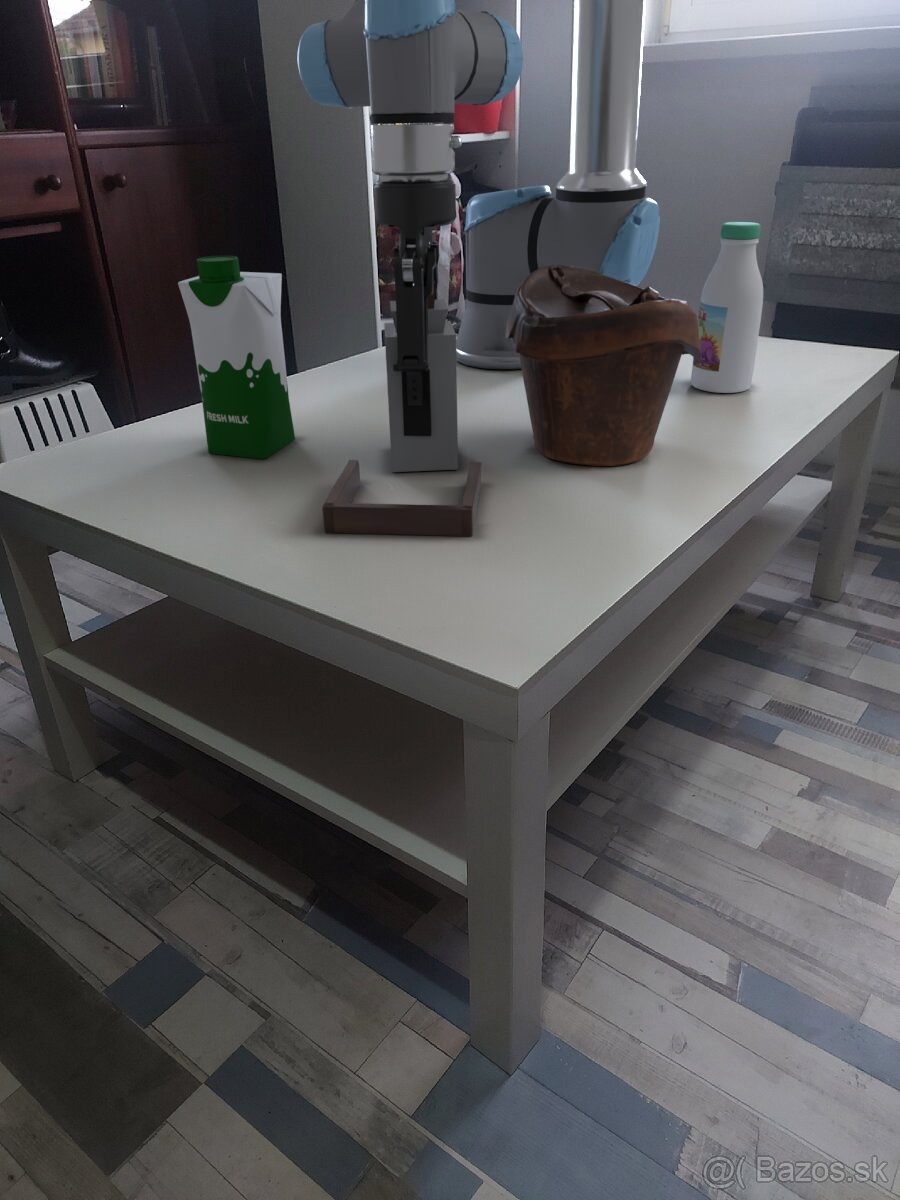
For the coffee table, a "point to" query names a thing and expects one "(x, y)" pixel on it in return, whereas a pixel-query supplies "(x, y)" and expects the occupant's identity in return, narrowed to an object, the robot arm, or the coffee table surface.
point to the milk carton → (239, 357)
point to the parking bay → (399, 510)
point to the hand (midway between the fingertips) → (422, 424)
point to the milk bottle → (730, 313)
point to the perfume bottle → (443, 391)
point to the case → (597, 362)
